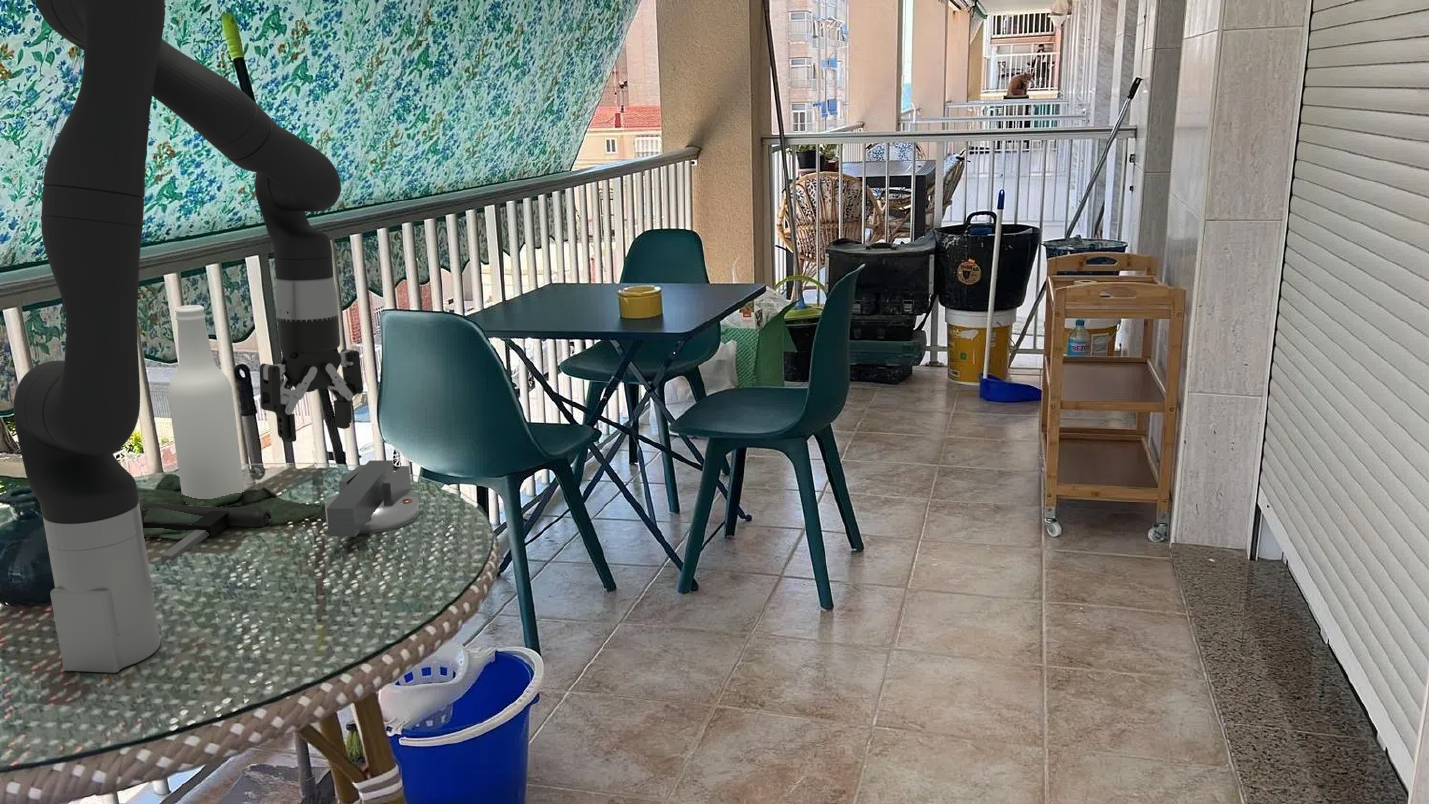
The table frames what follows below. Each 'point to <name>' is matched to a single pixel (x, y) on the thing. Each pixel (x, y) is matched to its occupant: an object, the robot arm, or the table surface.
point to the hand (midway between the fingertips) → (316, 434)
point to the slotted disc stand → (388, 502)
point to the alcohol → (203, 414)
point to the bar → (358, 499)
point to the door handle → (205, 523)
